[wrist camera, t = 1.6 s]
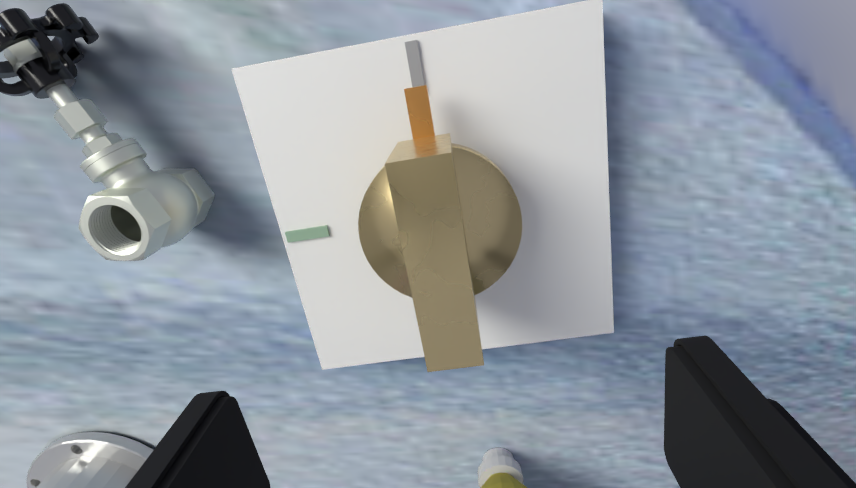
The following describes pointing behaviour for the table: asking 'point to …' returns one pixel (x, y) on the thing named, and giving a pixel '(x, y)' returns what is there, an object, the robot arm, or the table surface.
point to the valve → (100, 143)
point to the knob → (440, 233)
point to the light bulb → (500, 470)
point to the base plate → (469, 126)
